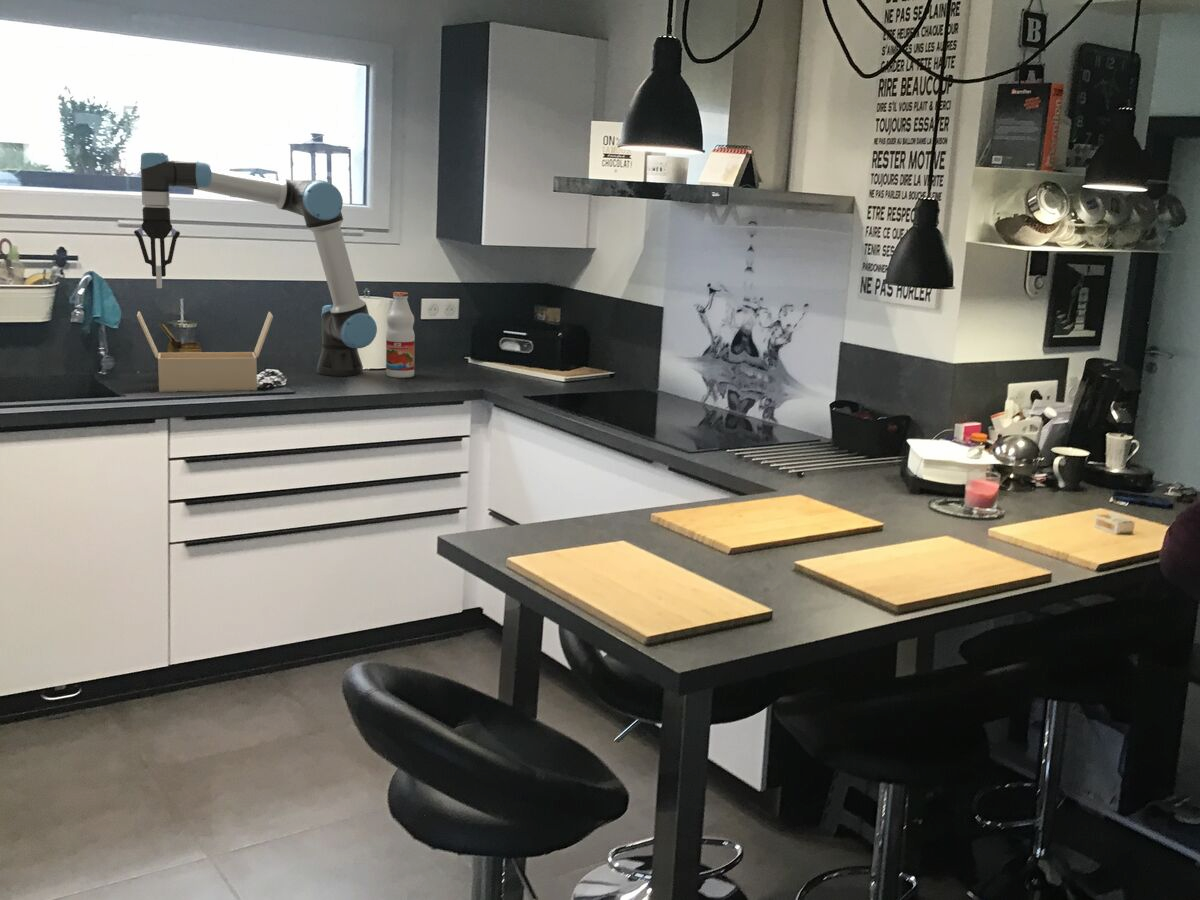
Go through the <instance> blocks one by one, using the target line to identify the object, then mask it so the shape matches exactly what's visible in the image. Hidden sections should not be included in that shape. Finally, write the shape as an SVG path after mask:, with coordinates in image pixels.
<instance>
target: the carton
mask: <svg viewBox="0 0 1200 900" xmlns="http://www.w3.org/2000/svg"><path fill="white" fill-rule="evenodd" d="M257 361H258V360H257V356H256V354H255V352H254V351H233V352H232V351H229V352H226V351H219V352H218V351H217V352H215V351H212V352H211V351H210V352H209V351H207V352H206V351H205V352H203V351H202V352H185V353H178V352H174V353H168V352H158V358H157V371H158V392H159V393H178V392H177V391H202V392H236V391H235V390H246V391H245V392H249V390H254V392H255V391H258V375H257V374H258V369H257V368H258V366H257V363H258V362H257ZM247 390H248V391H247Z"/></svg>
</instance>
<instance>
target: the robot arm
mask: <svg viewBox="0 0 1200 900" xmlns="http://www.w3.org/2000/svg"><path fill="white" fill-rule="evenodd" d="M140 177H141V178H140V179H141V202H142V203H141V205H143V206H144V207H142V224H141V226H140V227H139V228H138V229H136V230H134V231H133V234H134V235H135V236H136V238H137V239H138V244H139V246H140V249H141V253H142V256H143V260H144V263H145V264H149V265H150V266H151V276H152V277H155V280H156V289H162V288H163V277H166V276H167V275H166V274H167V273H166V266H167V265H169V264H172V262H173V259H174V258H173V257H174V252H175V249H176V248H175V247H176V244H177V239H178V238H179V236H180V235H181V232H180V231H179V230H176V229H175V228H174V227H173V225H172V222H171V209H170V207H169V206H170V205H171V204H170V202H171V201H170V187H178V188H186V189H191V190H197V191H201V192H202V191H204V192H208V193H214V194H218V195H223V196H229V197H233V198H237V199H243V200H248V201H254V202H258V203H264V204H270V205H274V206H275V207H276V208H277V209H278V210H283V211H287V212H290V213H294V214H296V215H298V216H299V215H300V216H302V217H303V219H304V223H305V226H306V229H307V230H309V231H310V232H312V233H313V236H314V240H315V243H316V247H317V251H318V254H319V257H320V262H321V265H322V268H323V272H324V276H325V279H326V283H327V286H328V290H329V293H330V297H331V301H332V304H327V305H323V306H322V308H321V315H320V316H321V345H322V346H321V353H320V356H319V360H318V362H317V366H316V373H318V374H319V375H324V376H335V377H337V376H340V377H344V376H345V377H347V376H358V375H362V374H363V373H364V367H363V363H362V360H361V357H360V353H359V351H358V349H363V348H366V347H367V346H370V345H371V344H372V342H374V340H375V338H376V336H377V333H378V328H377V327H378V326H377V322H376V321H375V319H374V318H373V317H372V315H370V314H369V313H370V312H369V310H368V305H367V303H366V301H364V300H363V299H361V298H360V295H359V291H358V287H357V283H356V280H355V276H354V273H353V272H354V271H353V268H352V265H351V261H350V258H349V254H348V251H347V250H348V249H347V247H346V243H345V239H344V237H343V232H342V229H341V228H342V227H341V225H342V223H343V221H344V216H343V214H342V209H343V203H344V202H343V196H342V194H341V191H340V190H339V189H338V188H337V187H336V186H335V185H334V184H332V183H331V182H328V181H325V180H319V179H318V180H292V179H287V178H281V179H280V180H275V179H269V178H264V177H262V176H261V177H260V176H255V175H250V174H245V173H241V172H235V171H230V170H225V169H221V168H216V167H212V166H211V165H210V163H208V162H206V161H199V160H197V161H196V160H195V161H194V160H173V159H172V160H171V159H169V155H168V153H165V152H152V151H150V152H148V151H145V152H142V154H140ZM144 233H145V234H146V236H147V238H149V240H150V257H151V258H149V255H148V250H147V249H146V244H145V241H144V238H143V235H144ZM169 234H170V235H171V237H172V238H171V242H170V247H169V252H168V256H167V259H166V252H165V251H166V250H165V249H166V248H165V239H166V238H167V237H168V235H169ZM156 239H158V240H159V246H160V247H159V248H160V250H159V252H160V265H159V264H157V258H156V257H157V255H156V254H157V252H156V251H157V250H156Z"/></svg>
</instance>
